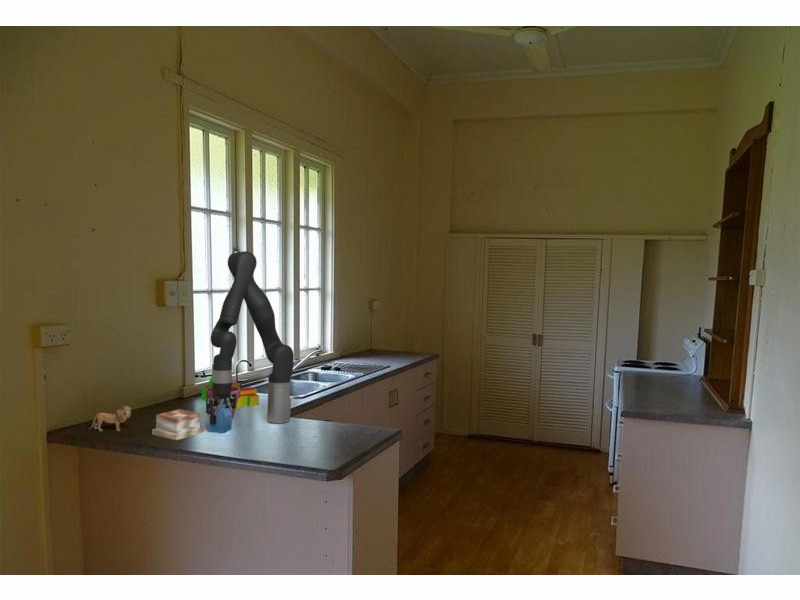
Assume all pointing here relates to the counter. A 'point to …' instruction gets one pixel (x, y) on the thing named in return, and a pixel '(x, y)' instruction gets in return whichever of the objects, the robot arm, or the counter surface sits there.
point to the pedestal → (177, 424)
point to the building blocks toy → (246, 394)
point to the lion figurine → (112, 418)
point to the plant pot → (234, 390)
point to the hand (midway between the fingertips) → (220, 422)
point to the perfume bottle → (222, 420)
